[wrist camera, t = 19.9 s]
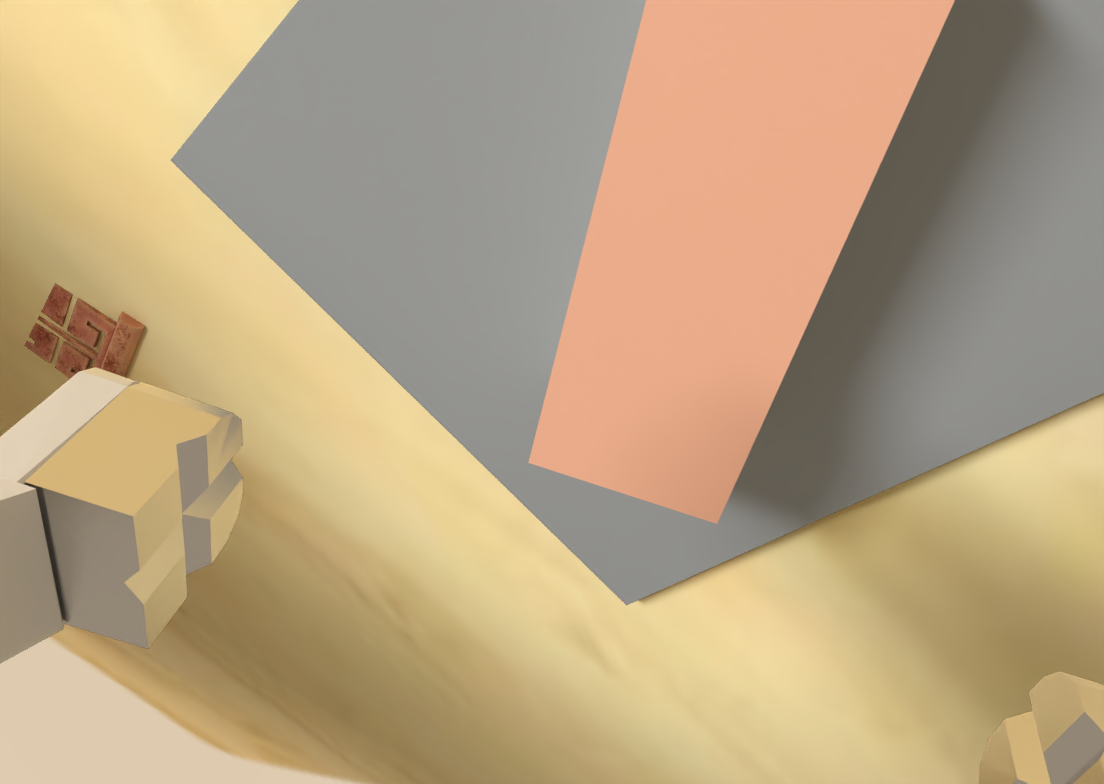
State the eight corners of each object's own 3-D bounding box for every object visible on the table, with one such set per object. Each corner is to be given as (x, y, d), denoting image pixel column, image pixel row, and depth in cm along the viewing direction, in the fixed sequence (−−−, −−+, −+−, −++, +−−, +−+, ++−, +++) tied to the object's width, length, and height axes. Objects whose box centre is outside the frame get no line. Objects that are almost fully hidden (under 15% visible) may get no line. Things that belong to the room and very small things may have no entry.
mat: (629, 592, 31) (626, 605, 31) (182, 153, 25) (170, 160, 25) (1508, 193, 18) (1526, 204, 18) (1004, -865, 13) (1012, -890, 12)
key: (46, 243, 30) (-25, 494, 38) (25, 254, 29) (-43, 507, 37) (191, 349, 30) (88, 573, 39) (173, 362, 29) (72, 587, 38)
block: (717, 524, 22) (994, -88, 14) (528, 462, 23) (688, -170, 14) (729, 430, 26) (961, -113, 17) (563, 377, 26) (712, -179, 18)
